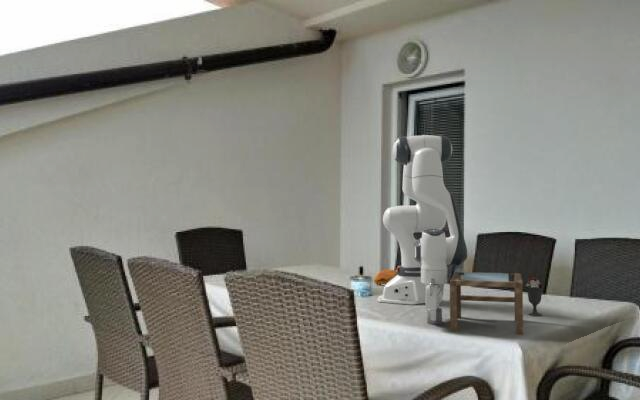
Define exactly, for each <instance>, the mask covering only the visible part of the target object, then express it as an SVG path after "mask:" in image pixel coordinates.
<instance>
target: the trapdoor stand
mask: <svg viewBox="0 0 640 400" xmlns="http://www.w3.org/2000/svg"><path fill="white" fill-rule="evenodd" d="M462 276H465V272H462V271H454V272H453V274H452V276H451V277H450V280H449V318H450V319H449V322H450V324H449V327H450V329H449V330H450V331H451V332H453V331H455V332H457V331H458V319H461V318H462V301H463V302H464V301H468V302H491V303H492V302H493V303H494V302H495V303H496V302H497V303H514V321H515V334H516V335H524V317H523V316H524V309H523V308H524V303H523V302H524V301H523V300H524V298H523V297H524V296H523V293H524V291H523V290H524V289H523V285H524V284H523V283H524V282H523V279H522V274H521V273H517V272H514V273H509V277H514V278H513V281H510V280H509V281H478V280H463V279H462ZM463 286H464V287H467V286H468V287H488V288H491V287H494V288H495V287H496V288H497V287H498V288H514V295H513V296H496V295H495V296H493V295H492V296H491V295H466V294H465V295H464V294H462V287H463Z"/></svg>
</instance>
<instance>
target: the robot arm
mask: <svg viewBox="0 0 640 400" xmlns="http://www.w3.org/2000/svg"><path fill="white" fill-rule="evenodd" d="M452 154H453V145H452V142H451V139H450V138H449V137H448V136H445V135H429V134H422V135H411V136H406V135H403V136H400V137H397V138H396V139H395V140H394V143H393V146H392V155H393V158H394V160H395V162H397V163H398V164H401V165H403V172H402V192H403V194H404V195H405V196H406V197H407V198H408V199H410V200H413V201H414V202H416V204H415V205H395V206H391V207H390V206H389V207H387V208H386V210H385V211H384V212H383V213H384V214H383V215H382V223H383V226H384V228H385V229H386V230H387V231H388V232H390V233H391V234H392V235H393V236H394V237H395V238H396V240H397V243H398V245H399V249H400V257H401V258H400V260H401V265H398V266H397V267H396V271H397V274H398V275H397V276H395V277H394V278H393V279H391V280H390V281H389V282H388V283H387V284H386V285H385V286H384V285H383V286H384V287H383V291H382V295H379V296H378V297H377V302H378V303H389V304H397V305H398V304H400V305H402V304H403V305H419V304H425V309H426V310H427V309H428V310H430V315H431V320H432V321H435V320H436V309H437V308H438V307H440V304H441V302H442V300H443V298H444V297H443V296H444V290H445V289H444V288H445V284H448V266H454V267H460V266H461V265H462V264H464V263H465V261H467V259H468V246H467V244H466V240H465V237H464V233H463V228H462V225H461V220H460V215H459V211H458V208H457V203H456V200H455V196H454V195H453V193H452V192H450V191H448V189H447V188H446V186H445V182H444V174H443V173H444V172H443V164H445V163H447V162H449V161H450V159H451V156H452ZM446 223H447V226H448V230H449V235H450V236H449V237H448V236H447V237H446V234H445V233H446V232H445V231H444V230H443V229H444V228H445V226H446ZM414 233H421V237H420V238H419V239H416V238H415V236H414Z"/></svg>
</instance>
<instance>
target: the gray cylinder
mask: <svg viewBox="0 0 640 400" xmlns="http://www.w3.org/2000/svg"><path fill="white" fill-rule="evenodd" d="M426 324H428V325H432V326H433V325H434V326H435V325H437V326H438V325H443V307H440V306H439V307H438V308H437V309H436V320H435V321H432V320H431V315H430V310H428V309H426Z"/></svg>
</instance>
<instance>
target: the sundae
mask: <svg viewBox="0 0 640 400" xmlns="http://www.w3.org/2000/svg"><path fill="white" fill-rule="evenodd" d="M527 275H528V276H529V278H528V282H527V283H526V285H525V286H524V287H525V289H526V291H527V298H528V302H529V303H530V304H531V305H532V310H531V312H528V313H527V315H528V316H531V317H542V316H543V313H539V312H538V308H537V306H538V305H539V304H540V303H541V301H542V297H543V296H542V293H543V290H544V289H545V286H544V285H543V284H544V281H542V282H540V280H538V279H537V278H535V277H533V275H532V274H531V273H530V272H527Z"/></svg>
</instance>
